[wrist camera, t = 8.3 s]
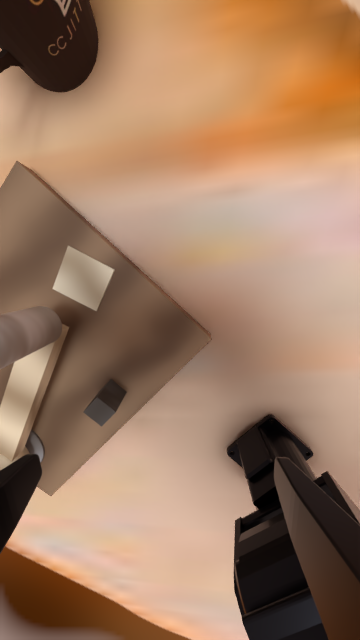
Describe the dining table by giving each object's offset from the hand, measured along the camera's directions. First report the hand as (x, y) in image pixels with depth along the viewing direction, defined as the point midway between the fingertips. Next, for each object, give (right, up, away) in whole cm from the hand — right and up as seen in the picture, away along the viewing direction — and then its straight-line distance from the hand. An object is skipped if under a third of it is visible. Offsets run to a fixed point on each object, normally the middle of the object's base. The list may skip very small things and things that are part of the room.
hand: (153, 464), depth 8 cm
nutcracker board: (-13, +2, +14) cm, 19 cm away
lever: (-13, -2, +12) cm, 18 cm away
